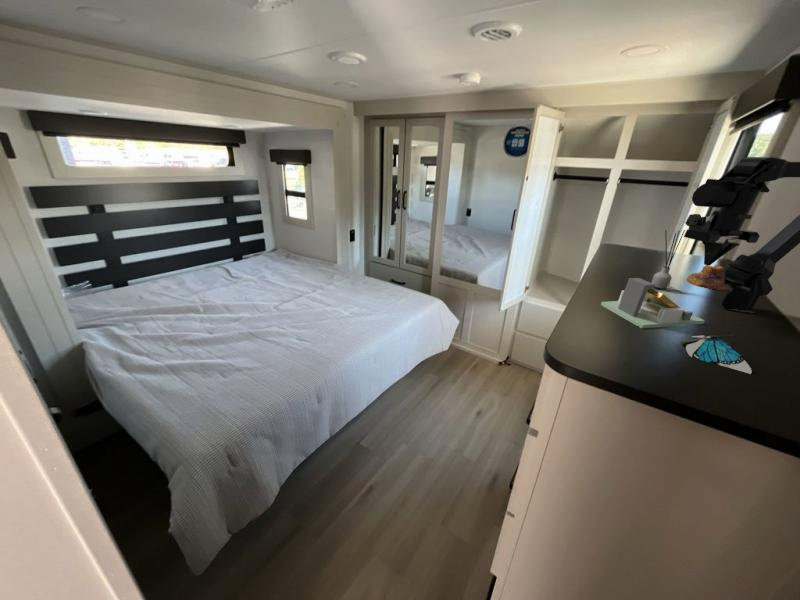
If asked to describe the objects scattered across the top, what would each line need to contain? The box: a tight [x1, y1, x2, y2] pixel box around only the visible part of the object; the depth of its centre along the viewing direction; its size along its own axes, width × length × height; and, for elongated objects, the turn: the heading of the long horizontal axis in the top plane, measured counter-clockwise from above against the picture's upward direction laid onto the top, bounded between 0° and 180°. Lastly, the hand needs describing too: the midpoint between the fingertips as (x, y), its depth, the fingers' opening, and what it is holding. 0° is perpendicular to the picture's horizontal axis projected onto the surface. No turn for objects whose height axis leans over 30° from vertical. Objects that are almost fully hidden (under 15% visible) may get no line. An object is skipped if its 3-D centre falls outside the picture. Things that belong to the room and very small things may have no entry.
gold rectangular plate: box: [645, 288, 686, 316], centre depth 87 cm, size 1×10×13 cm
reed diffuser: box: [651, 229, 686, 289], centre depth 105 cm, size 10×7×20 cm
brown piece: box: [686, 264, 729, 291], centre depth 112 cm, size 12×12×7 cm
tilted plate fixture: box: [600, 277, 706, 329], centre depth 87 cm, size 20×14×10 cm
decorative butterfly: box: [679, 333, 753, 375], centre depth 70 cm, size 10×6×10 cm
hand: (706, 264), depth 90 cm, fingers closed
